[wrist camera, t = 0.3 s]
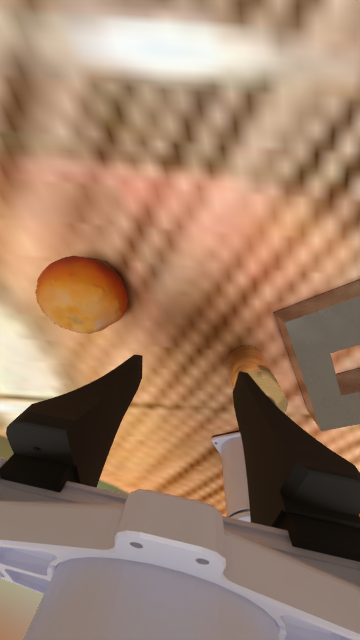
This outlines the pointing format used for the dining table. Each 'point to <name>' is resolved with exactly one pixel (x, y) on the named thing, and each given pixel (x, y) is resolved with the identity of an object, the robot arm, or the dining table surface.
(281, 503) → the robot arm
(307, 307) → the jig
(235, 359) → the bushing
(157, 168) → the dining table surface
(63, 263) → the fruit
